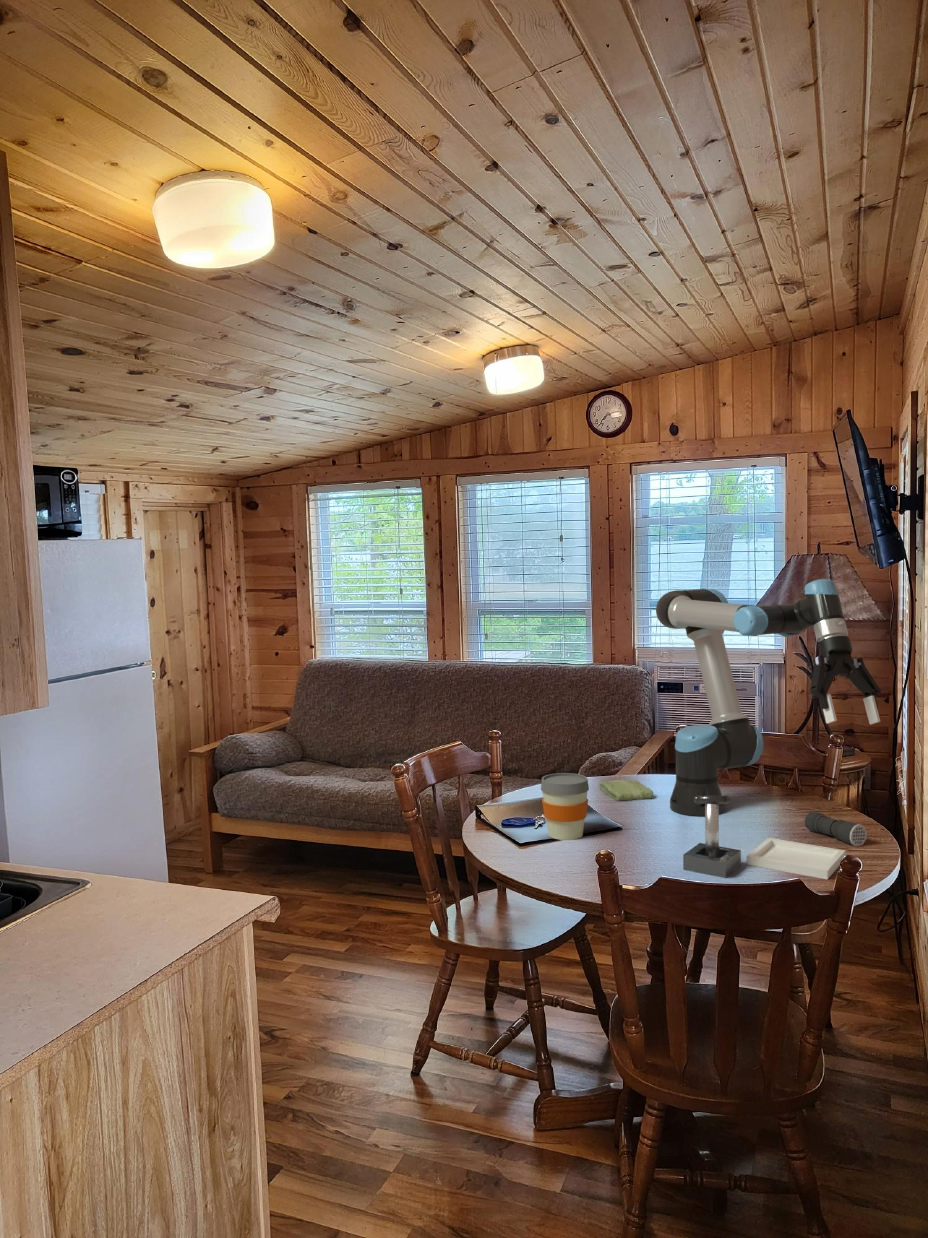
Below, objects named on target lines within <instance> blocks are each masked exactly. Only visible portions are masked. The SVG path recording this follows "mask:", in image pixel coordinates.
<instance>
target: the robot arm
mask: <svg viewBox="0 0 928 1238" xmlns="http://www.w3.org/2000/svg"><path fill="white" fill-rule="evenodd" d="M804 595H805V596H803V597H802V598H800V599H799V600H797V601H795V602H793V603H784V604H783V603H782V604H771V605H768V604H767V605H754V604H742V603H741V604H740V603H732V602H731V603H730V602H728V599H727V597H725V595H724V594H723V593H722V592H721V591H720V590H717V589H713V588H710V589H709V588H700V589H699V588H697V589H681V590H679V589H677V590H670V591H668V592H666V593H665V594H663V595H662V596H661V597H660V598H659V600H658V601H657V604H656V606H655V614H656V615H655V616H656V618H657V620H658V621H659V622H660V623H661V624H662V626H664V627H666V628H669V629H672V630H673V629H674V630H683V629H684V630H685V633H686V636H687V638H688V639H689V640H691V641H692V642H693V645H694V648H695V652H696V656H697V660H698V665H699V669H700V672H701V673H700V674H701V677H702V682H703V686H704V690H705V694H706V699H707V702H708V706H709V710H710V715H711V720H710V722H708V723H709V724H699V725H697V724H694V725H690V726H685V727H683V728H681V729H679V730H678V731H677V733H676V735H675V744H674V749H675V784H674V786H673V790H672V793H671V795H670V799H669V808H670V810H671V811H673V812H675V813H677V814H682V815H687V816H694V817H695V816H696V817H705V804H703V803H695V802H694V797H695V796H723V795H722V791H721V788H720V786H719V780H718V779H719V771H722V770H726V769H727V770H728V769H733V768H743V767H747V766H750V765H751V766H752V765H754V764H755V763H757V762H758V761H759V760H760V758H761V755H762V754H763V751H764V739H763V738H764V737H763V735H762V732H761V730H759V728H758V727H757V726H755V725H753V724H751V722H750V719H749V717H748V716H747V715H746V714H744V713H743V712H742V709H741V705H740V701H739V697H738V692H737V688H736V685H735V680H734V676H733V672H732V668H731V664H730V661H729V656H728V652H727V648H726V644H725V639H724V637H723V636H724V635H723V634H724V633H725V631H726V632H733V633H734V632H736V633H739V634H740V635H742V636H748V637H757V636H763V635H764V636H765V635H779V636H782V637H783V638H791V637H794V636H797V635H800V634H801V633H803V632H804V631H806V630H808V629H810V628H812V627H813V631H814V635H815V640H816V642H817V648H818V650H819V651H818V652H819V655H818V656H817V657H814V658H813V659H812V662H813V669H812V670H813V671H812V675H811V676H812V677H811V682H810V687H809V692H810V694H811V695H813V696H814V697H815V698H818V699H819V700H818V701H819V704H820V708H821V710H822V711H823V715H824V720H825V723H826V724H831V723H834V722H837V721H838V720H837V715H836V710H835V707H834V702H833V699H832V694H831V693H828V692H829V690H830V688H831V686H832V683H833V681H834V679H835V677H838V676H839V677H843V678H844V677H845V679H848V680H849V681H850V682H851V683H852V684H853V685H854V686H855V687H856V688H857V690H858V691H859V692H860V693H861V694H862V695H863V697H864V698H862V699H863V704H864V707H865V712H866V716H867V719H868V723H869V725H873V724H874V725H875V724H876V723H881V719H880V714H879V711H878V709H879V706H878V701H877V697H876V696H877V695H879V694H881V693H882V690H881V689H880V687H879V685H878V684H877V682H876V680H875V679H874V678H873V676H872V675H871V673H870V671H869V670H868V668H867V667H866V665H865V663H864V660H863V658H862V657H858V658H854V659H853V657H852V652H853V645H852V643H851V638H850V637H849V633H848V632H849V631H848V627H847V625H846V624H847V623H846V620H845V615H844V612H843V607H842V603H841V599H840V594H839V591H838V588H837V586H836V582H835V581H834V580H832V579H829V578H822V579H821V578H820V579H816V580H815V579H814V580H813V581H810V582H808V583H807V584H806V585H805V586H804ZM725 808H726V807H725V804H719V815H720V814H723V812H725Z"/></svg>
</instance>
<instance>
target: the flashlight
mask: <svg viewBox="0 0 928 1238" xmlns="http://www.w3.org/2000/svg"><path fill="white" fill-rule="evenodd" d="M804 826H805V827H806V829H808V830H809V831H810V832H813V833H817V834H823V835H826V836H830V837H833V838H835V839H836V840H838V841H842V843H843V842H844V843H845V844H848V845H850V846H854V847H859V846H860V847H861V846H863V845H864V843H866V841H867V835H868V833H867V829H866V827H865V825H863V824H859V823H856V822H853V821H846V820H843V819H839V820H838V819H835V818H831V817H829V816H827V815H825V814H823V813H821V812H818V811H810V812H808V813H807V814H806V816H805V818H804Z"/></svg>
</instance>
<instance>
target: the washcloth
mask: <svg viewBox="0 0 928 1238" xmlns="http://www.w3.org/2000/svg"><path fill="white" fill-rule="evenodd" d="M598 788H599V790H600V791H601V792H603V793H605V794H606V795H607V796H608V797H609V798H612V799H613V800H615V801H616V802H624V801H632V800H633V801H634V800H652V799H653V798H654V796H655V795H654V792H653V790H652V789H651V788H650V787H647V786H646V785H645V784H642V783H641V782H640V781H638V780H635V779H634V780H633V779H632V780H630V779H628V780H627V779H626V780H625V779H622V780H621V779H620V780H619V779H618V780H617V779H615V780H611V781H606V780H602V781H600V782H599V787H598Z"/></svg>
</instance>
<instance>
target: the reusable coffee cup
mask: <svg viewBox="0 0 928 1238" xmlns="http://www.w3.org/2000/svg"><path fill="white" fill-rule="evenodd" d="M540 781H541V785H540V791H541V792H542V799H541V801H542V803H541V804H542V809H543V810H542V811H543V815H544V816H543V817H544V818H545V820H546V825H547V834H548V836H549V837H550V838H552V839H554V840H555V839H556V840H561V841H573V840H577V839H580V838H582V837H583V836H584V829H585V828H584V826H585V819H586V818H587V815H588V813H587V812H588V807H589V805H588V803H589V799H588V791H589V780H588V776H586V775H583V774H579V773H574V772H573V773H571V772H570V773H569V772H559V773H557V772H555V773H550V774H546V775H544V776H542V777H541V780H540Z"/></svg>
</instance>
